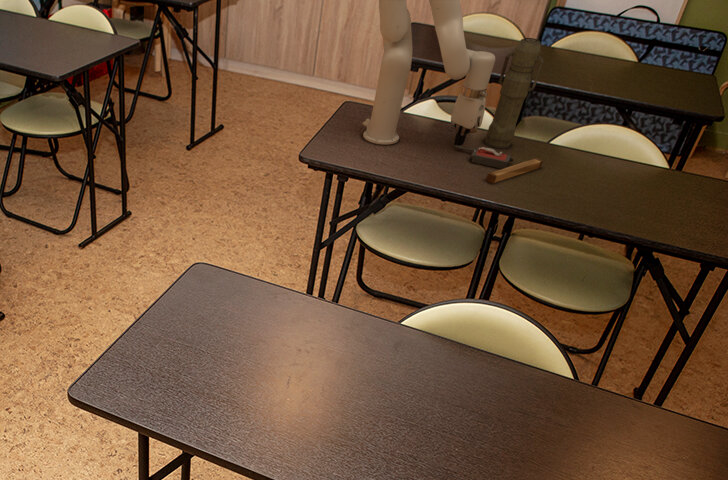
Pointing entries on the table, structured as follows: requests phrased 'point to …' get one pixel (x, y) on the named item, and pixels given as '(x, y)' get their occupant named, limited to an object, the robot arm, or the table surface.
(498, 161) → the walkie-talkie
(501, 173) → the bar
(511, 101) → the thermos
